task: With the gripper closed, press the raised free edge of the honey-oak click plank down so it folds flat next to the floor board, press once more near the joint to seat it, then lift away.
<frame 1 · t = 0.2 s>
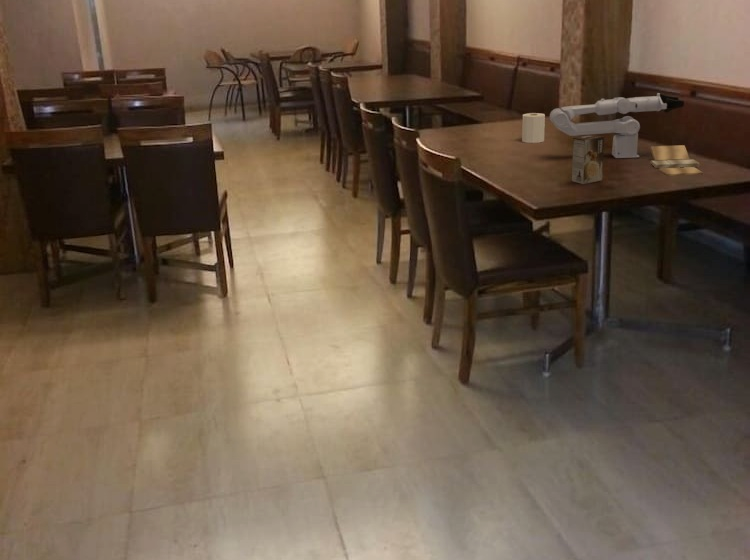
hand: (680, 101, 304), 21 cm above the table, tool horizontal, fingers open, 7 cm apart
toilet paper: (533, 141, 353), on the table
click plank: (669, 154, 301), point 3 cm above the table, hinge at 28.0°
coffee box: (586, 181, 278), on the table
floor board: (674, 165, 294), on the table
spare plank: (680, 173, 284), on the table
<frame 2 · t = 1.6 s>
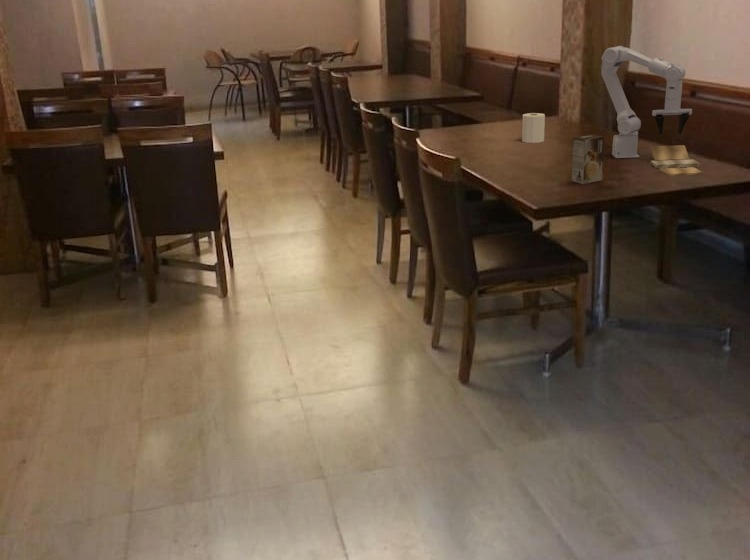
hand: (670, 133, 300), 10 cm above the table, tool pointing down, fingers open, 7 cm apart
nothing on the table moved.
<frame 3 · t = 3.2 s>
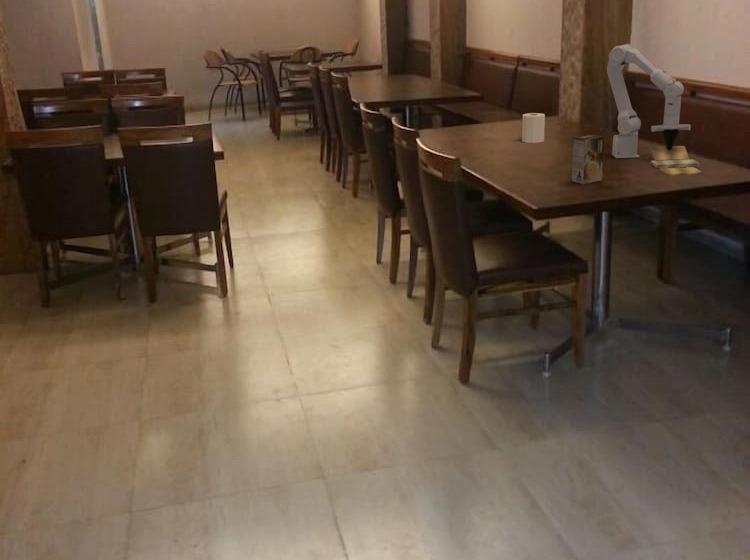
hand: (669, 148, 302), 4 cm above the table, tool pointing down, fingers closed, pressing on click plank
click plank: (669, 154, 301), point 3 cm above the table, hinge at 25.7°, touching gripper
everything else where it was.
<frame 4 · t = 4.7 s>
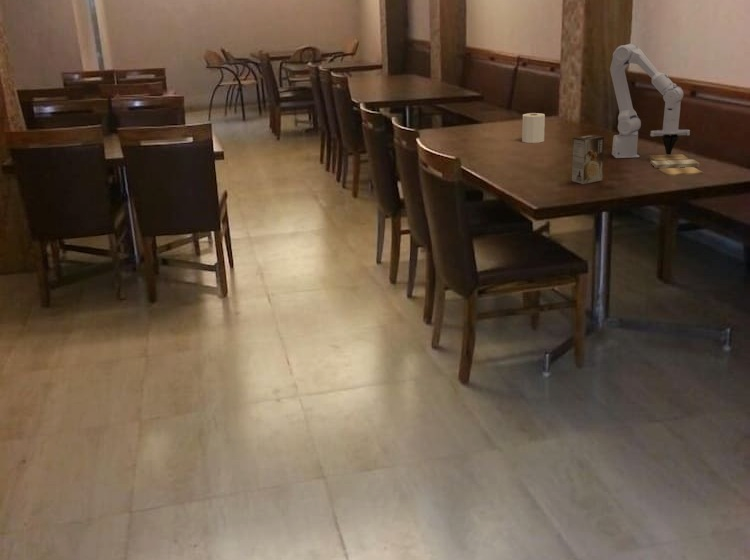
hand: (668, 153, 303), 2 cm above the table, tool pointing down, fingers closed
click plank: (668, 158, 302), point 1 cm above the table, hinge at 0.5°
everything else where it was.
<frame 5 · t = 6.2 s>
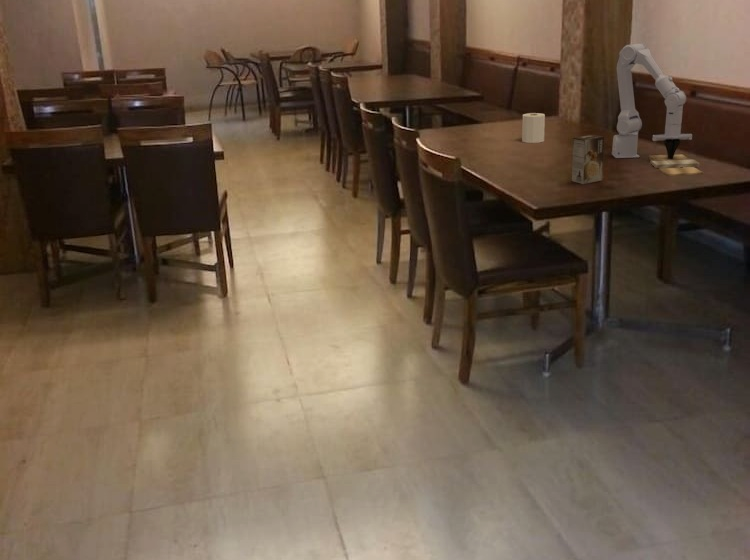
hand: (670, 158, 300), 1 cm above the table, tool pointing down, fingers closed, pressing on click plank
click plank: (668, 158, 302), point 1 cm above the table, hinge at 0.5°, touching gripper
everything else where it was.
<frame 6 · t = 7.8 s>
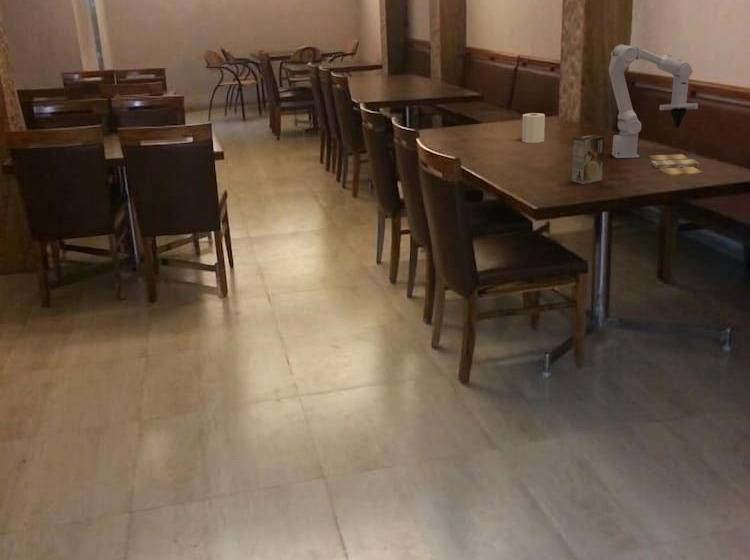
hand: (676, 127, 312), 10 cm above the table, tool pointing down, fingers closed
click plank: (668, 158, 302), point 1 cm above the table, hinge at 0.5°
everything else where it was.
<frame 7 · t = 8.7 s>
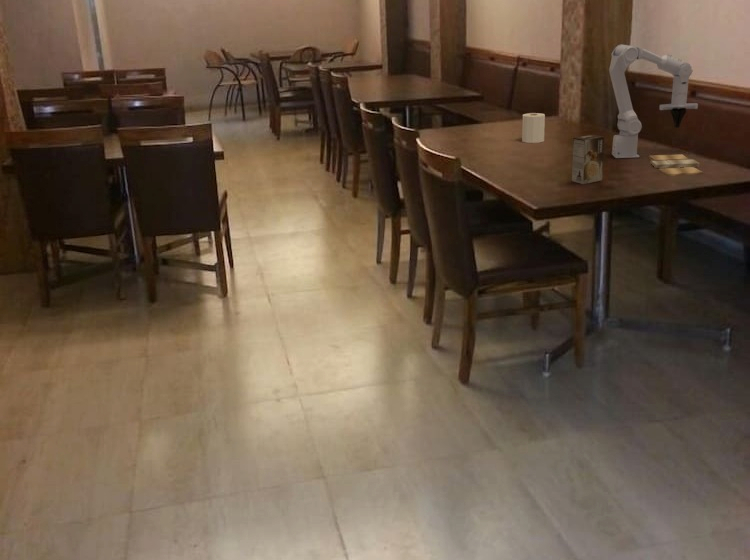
hand: (676, 127, 312), 10 cm above the table, tool pointing down, fingers closed
nothing on the table moved.
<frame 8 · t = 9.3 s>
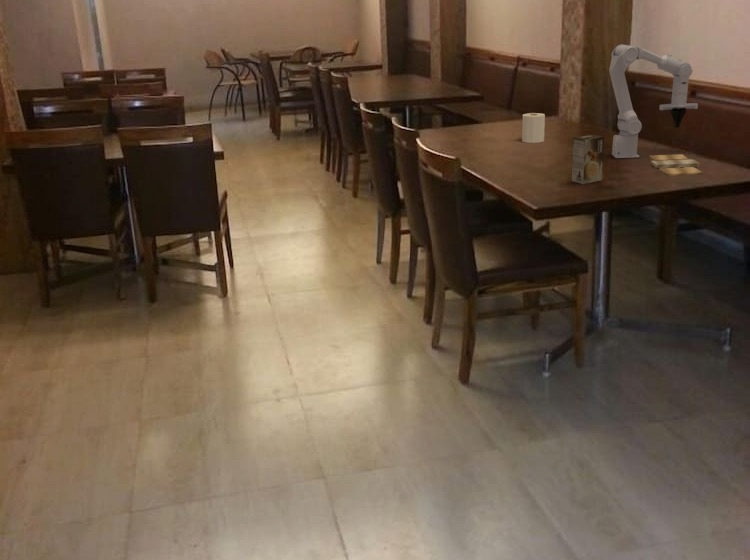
hand: (676, 127, 312), 10 cm above the table, tool pointing down, fingers closed
nothing on the table moved.
at the end: click plank at +0° (first picture: +28°); the gripper is holding nothing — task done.
